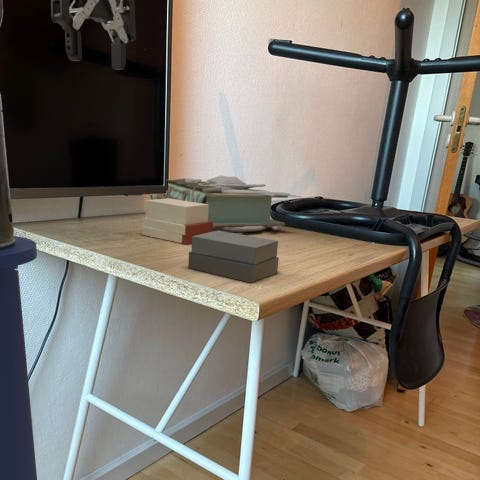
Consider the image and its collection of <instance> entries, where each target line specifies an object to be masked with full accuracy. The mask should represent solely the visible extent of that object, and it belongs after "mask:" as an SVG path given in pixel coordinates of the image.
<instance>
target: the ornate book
mask: <svg viewBox="0 0 480 480" xmlns="http://www.w3.org/2000/svg"><path fill="white" fill-rule="evenodd" d="M167 180H168V190H167V191H166V193H163V194H152V195H150V194H149V196H150V200H155V199H167V198H170V199H176V200H183V201H189V202H196V203H202V204H208V205H209V207H208V221H209V222H213V231H212V232H214V231H224V232H230V233H250V232H261V231H264V230H267V229H268V227H271V230H273V231H277V230H279V229H280V227H281V226H286V222H283V221H280V220H275V219H271V210H272V199H273V198H276V199H277V198H278V199H279V198H281V199H282V198H283V199H288V198H289V197H293V198H302V196H301V195H295V194H291V193H288V192H282V191H281V192H280V191H279V192H278V191H269V190H264V189H253V188H263V187H266V184H260V183H259V184H256V183H253V184H249V183H246V182H244V181H243V180H241V179H240V178H239V177H238V176H227V175H226V176H225V175H218V176H214V177H212V178H208V179H207V180H206V181H202V179H201V178H184V177H183V178H172V179H171V178H170V179H167Z"/></svg>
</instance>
